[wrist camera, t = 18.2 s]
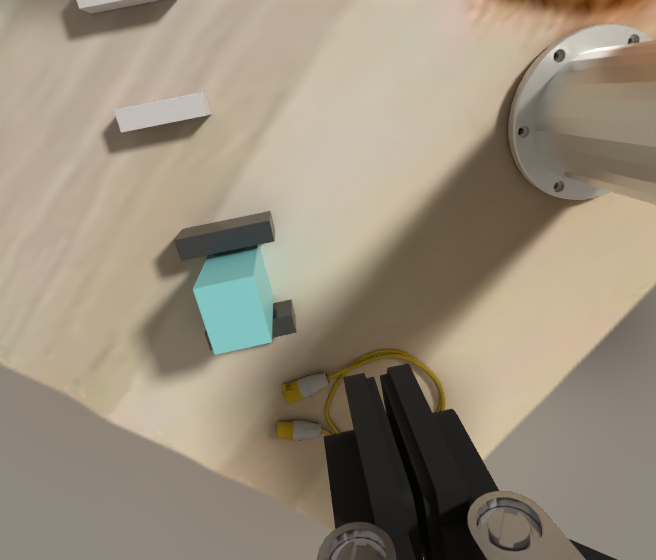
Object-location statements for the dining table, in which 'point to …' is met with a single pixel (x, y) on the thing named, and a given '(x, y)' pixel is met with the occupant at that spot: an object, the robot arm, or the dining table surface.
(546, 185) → the robot arm
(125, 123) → the pair of white bars
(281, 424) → the extension cord
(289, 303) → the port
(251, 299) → the turquoise rectangular block
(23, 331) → the dining table surface
